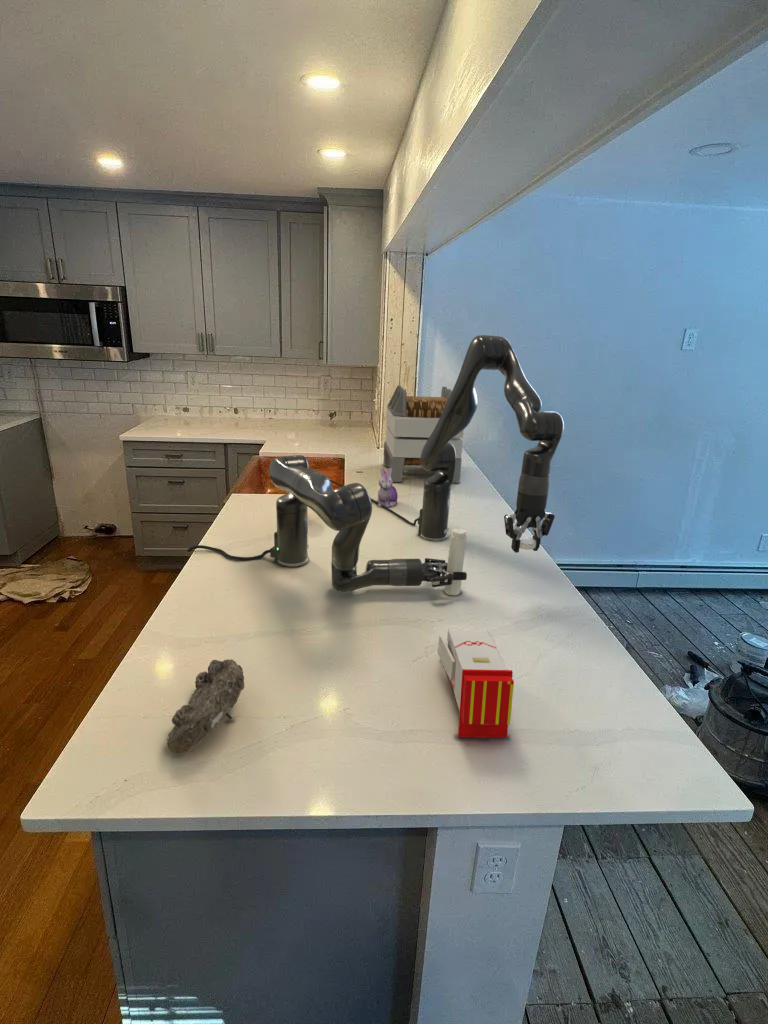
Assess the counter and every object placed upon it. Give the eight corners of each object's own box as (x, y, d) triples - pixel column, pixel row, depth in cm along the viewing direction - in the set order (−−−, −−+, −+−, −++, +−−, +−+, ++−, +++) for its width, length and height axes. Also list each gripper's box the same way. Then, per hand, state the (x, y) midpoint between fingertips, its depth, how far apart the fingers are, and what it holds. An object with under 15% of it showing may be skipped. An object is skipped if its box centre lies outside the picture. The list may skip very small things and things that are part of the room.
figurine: (382, 509, 223) (384, 472, 218) (371, 501, 232) (372, 465, 226) (403, 506, 227) (405, 470, 222) (391, 498, 236) (393, 463, 231)
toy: (488, 613, 130) (523, 677, 101) (484, 667, 133) (517, 744, 104) (435, 612, 130) (455, 676, 101) (432, 666, 133) (451, 743, 103)
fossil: (192, 660, 117) (244, 628, 112) (224, 691, 120) (276, 661, 115) (142, 746, 98) (202, 712, 93) (182, 779, 101) (242, 748, 96)
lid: (515, 541, 153) (516, 535, 153) (535, 543, 152) (536, 538, 152) (515, 548, 148) (516, 542, 148) (535, 550, 147) (536, 545, 147)
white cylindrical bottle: (460, 596, 158) (467, 534, 152) (444, 594, 159) (451, 533, 152) (459, 589, 162) (467, 528, 156) (444, 587, 163) (451, 527, 156)
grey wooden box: (382, 463, 289) (386, 382, 275) (445, 464, 293) (451, 384, 279) (390, 482, 257) (394, 392, 243) (460, 483, 261) (468, 394, 247)
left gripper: (408, 571, 149) (471, 571, 151) (401, 549, 162) (459, 549, 164) (406, 596, 151) (469, 596, 153) (399, 573, 165) (457, 572, 167)
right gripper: (549, 484, 150) (541, 543, 156) (501, 486, 146) (494, 547, 152) (565, 492, 144) (556, 554, 149) (515, 495, 140) (507, 558, 145)
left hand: (463, 571), depth 159 cm, fingers closed on white cylindrical bottle, 4 cm apart
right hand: (524, 550), depth 151 cm, fingers closed on lid, 5 cm apart
